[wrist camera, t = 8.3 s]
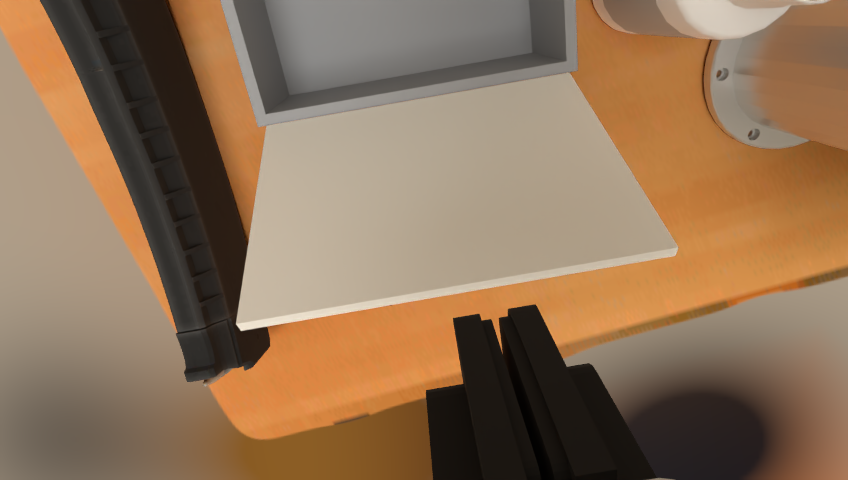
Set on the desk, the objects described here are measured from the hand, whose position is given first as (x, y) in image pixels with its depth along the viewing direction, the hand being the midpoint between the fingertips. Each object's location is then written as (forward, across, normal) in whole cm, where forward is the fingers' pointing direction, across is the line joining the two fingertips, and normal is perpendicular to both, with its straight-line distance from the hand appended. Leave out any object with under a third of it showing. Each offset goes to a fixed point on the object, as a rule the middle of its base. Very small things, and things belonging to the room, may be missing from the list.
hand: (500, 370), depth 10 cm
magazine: (+29, +16, 0) cm, 33 cm away
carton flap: (+14, 0, 0) cm, 14 cm away
